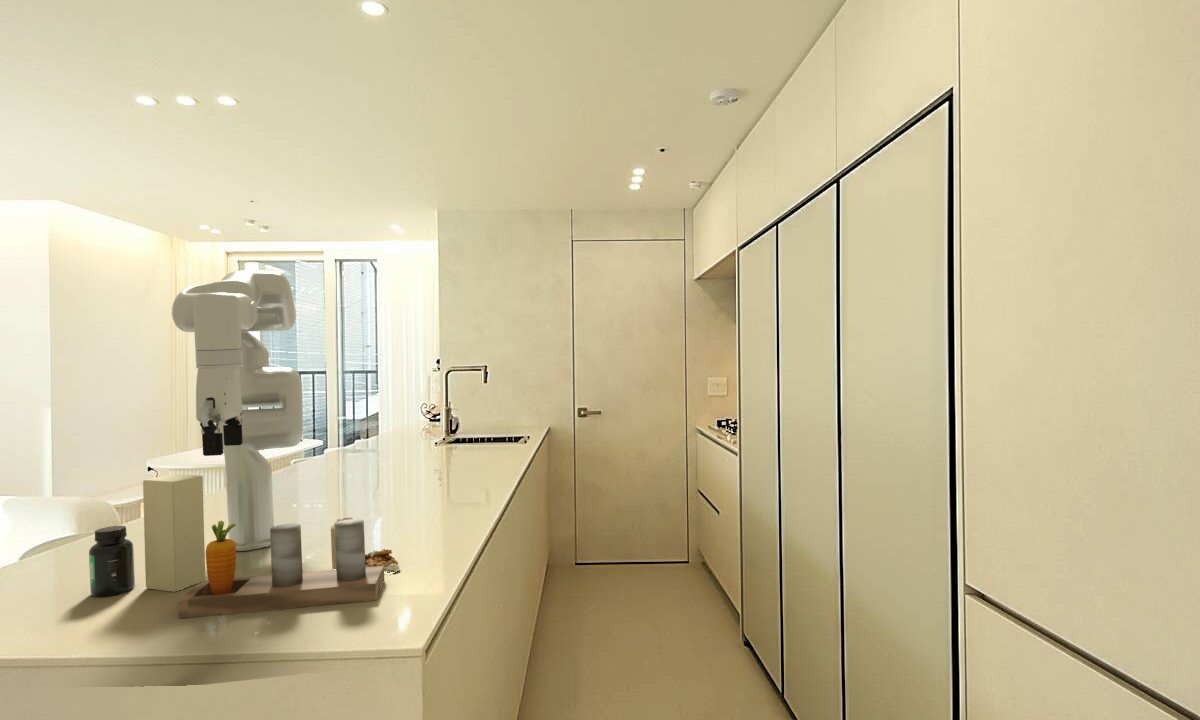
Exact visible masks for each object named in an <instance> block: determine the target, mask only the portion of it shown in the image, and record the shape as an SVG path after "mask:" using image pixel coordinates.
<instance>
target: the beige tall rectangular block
mask: <svg viewBox="0 0 1200 720" xmlns="http://www.w3.org/2000/svg"><path fill="white" fill-rule="evenodd" d="M203 477H204V476H203V475H199V474H198V475H196V474H179V473H173V474H166V475H162V476H156V477H150V478H146V479H143V481H142V490H143V491H142V494H143V495H142V496H143V497H142V498H143V524H144V525H143V526H144V527H143V528H144V529H143V530H144V531H143V533H144V565H145V566H144V567H145V569H144V570H145V587H146V589H150V590H157V591H164V592H170V591H171V593H177V592H180V591H182V590H184V588H185V589H187V588H190V587H192V586H191V585H193V586H195V585H194V584H196V585H198V584H200V582H202V581H204V580H205V581H206V549H205V523H204V522H205V519H204V517H205V514H204V512H205V511H204V479H203ZM197 583H198V584H197ZM189 586H190V587H189ZM186 587H187V588H186ZM179 590H180V591H179ZM176 591H177V592H176Z"/></svg>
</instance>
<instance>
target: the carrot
mask: <svg viewBox="0 0 1200 720" xmlns="http://www.w3.org/2000/svg"><path fill="white" fill-rule="evenodd" d="M224 525H225V521H223V520H219V521H218V522H217V525H216V524H215V523H214V524H213V525H212V526H211V529H212V532H213V534H214V535H215V538H216V540H212V541H210V542H209V543H208V544H207V546H206V549H205V566H206V574H207V578H208V579H207V580H209V583H210V587H211V590H212V592H213V594H214V595H218V594H230V591H231V588H232V585H233V580H234V578H235V574H236V573H235V572H236V563H237V562H236V560H237V551H236V543H235V541H234V540H231V539H228V538H226V537H227V535H228V532H229V531H230V529H231V528H233V527H234V526H235V524H234V523H233V524H231V525H229V526H228V525H227V527H226V529H224Z"/></svg>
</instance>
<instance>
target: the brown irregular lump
mask: <svg viewBox="0 0 1200 720" xmlns="http://www.w3.org/2000/svg"><path fill="white" fill-rule="evenodd" d="M392 553H393V549H386V548H383V549H381V550H377V549H373V550H372V551H371V552H368V554H367V553H365V567H374V566H384V571H385V572H386V571H387V573H390V572H396V571H399V569H400V568H401V567H399V565H398V561H397V560H396V559H395V557H393V556H392ZM396 573H397V572H396Z"/></svg>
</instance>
